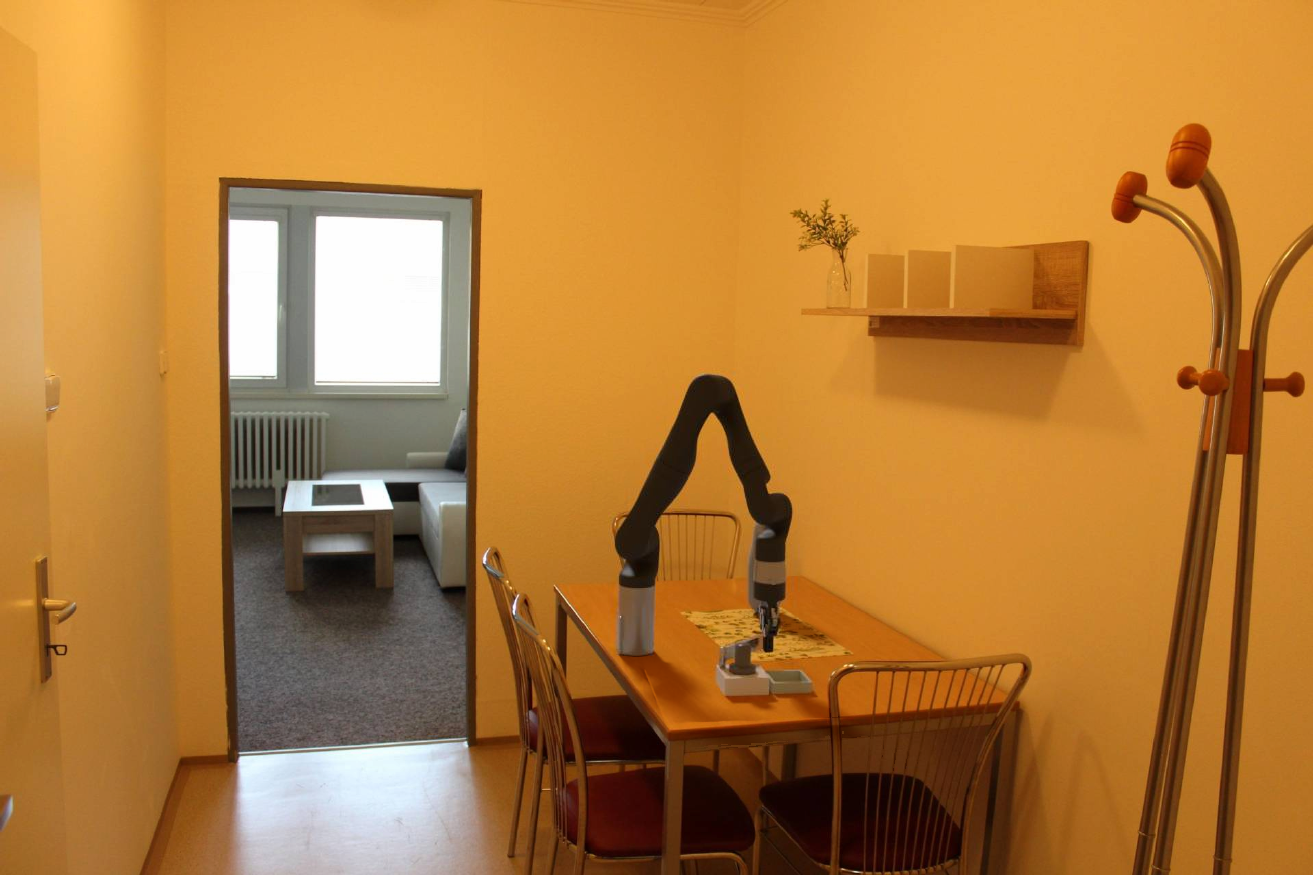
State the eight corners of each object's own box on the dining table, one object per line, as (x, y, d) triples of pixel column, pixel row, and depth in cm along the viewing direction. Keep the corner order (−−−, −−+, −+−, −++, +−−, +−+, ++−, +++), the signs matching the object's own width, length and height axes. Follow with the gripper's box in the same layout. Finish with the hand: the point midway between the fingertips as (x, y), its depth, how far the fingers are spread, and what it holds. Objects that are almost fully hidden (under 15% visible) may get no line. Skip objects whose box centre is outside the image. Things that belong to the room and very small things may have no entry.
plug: (731, 692, 237) (732, 649, 236) (726, 683, 243) (727, 641, 242) (757, 691, 238) (759, 648, 237) (751, 683, 244) (753, 640, 243)
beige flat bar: (723, 668, 241) (723, 648, 241) (717, 667, 242) (718, 647, 242) (769, 652, 254) (770, 633, 254) (764, 651, 255) (764, 632, 255)
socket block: (724, 696, 235) (725, 678, 235) (715, 681, 245) (716, 664, 244) (768, 695, 236) (769, 677, 236) (758, 680, 246) (758, 663, 246)
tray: (772, 694, 237) (773, 683, 237) (763, 681, 246) (763, 670, 246) (812, 693, 238) (812, 682, 238) (801, 680, 247) (801, 669, 247)
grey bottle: (787, 615, 309) (790, 520, 306) (756, 618, 305) (759, 521, 302) (771, 607, 318) (774, 514, 315) (740, 610, 314) (743, 516, 311)
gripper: (747, 573, 255) (746, 644, 256) (760, 585, 242) (758, 660, 243) (778, 572, 256) (776, 643, 257) (792, 584, 243) (790, 659, 244)
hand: (767, 651), depth 250 cm, fingers closed
